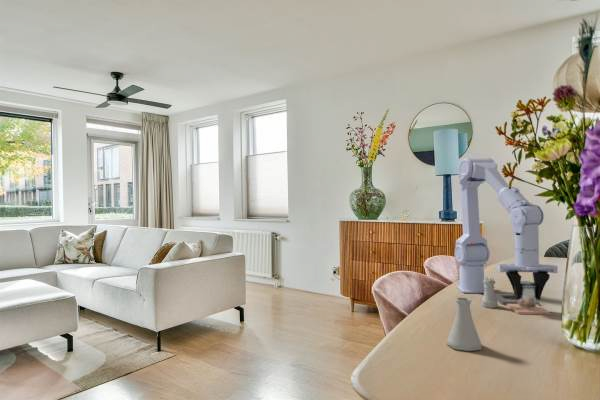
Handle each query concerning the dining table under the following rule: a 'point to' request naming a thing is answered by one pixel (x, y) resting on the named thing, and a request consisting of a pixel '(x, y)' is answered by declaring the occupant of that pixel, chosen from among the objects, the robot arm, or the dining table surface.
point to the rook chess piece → (489, 294)
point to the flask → (464, 328)
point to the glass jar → (527, 294)
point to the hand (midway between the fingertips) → (527, 298)
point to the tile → (528, 309)
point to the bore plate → (503, 301)
